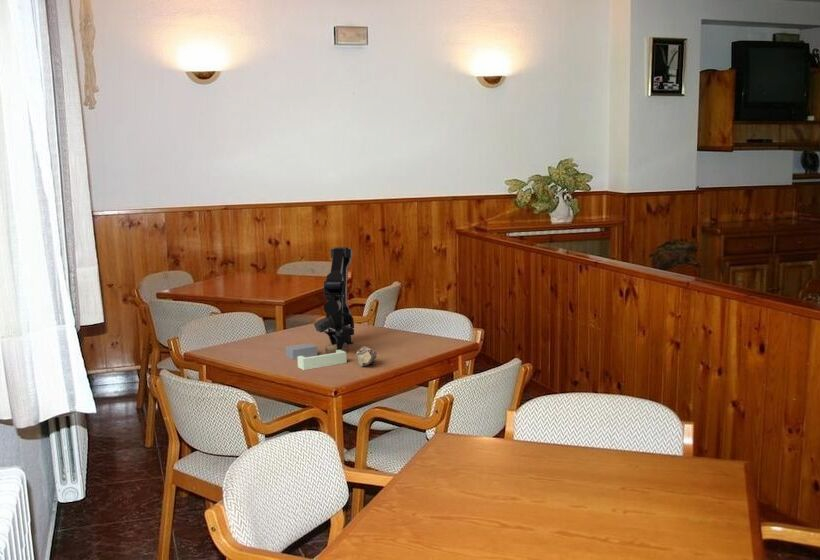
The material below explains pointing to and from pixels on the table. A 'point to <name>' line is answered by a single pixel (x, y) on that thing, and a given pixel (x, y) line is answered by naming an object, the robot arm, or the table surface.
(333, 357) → the board
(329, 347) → the roller
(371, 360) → the rock
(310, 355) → the slab
